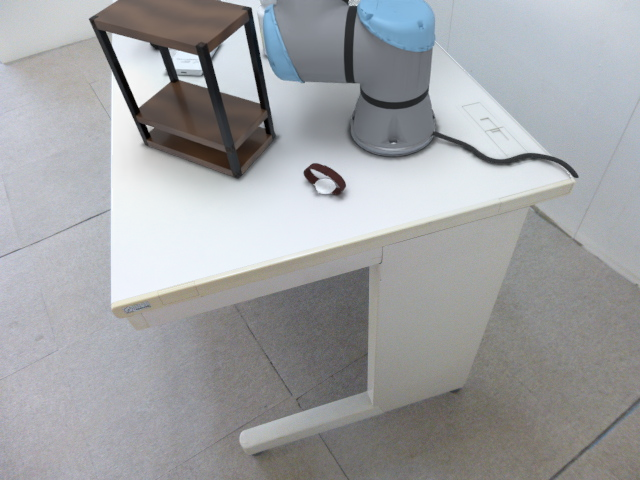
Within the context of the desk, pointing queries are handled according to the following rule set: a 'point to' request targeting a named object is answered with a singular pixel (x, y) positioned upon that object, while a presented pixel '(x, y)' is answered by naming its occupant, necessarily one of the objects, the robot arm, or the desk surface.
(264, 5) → the supplement bottle
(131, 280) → the desk surface
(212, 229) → the desk surface
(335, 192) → the watch
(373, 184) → the desk surface
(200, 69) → the hard drive
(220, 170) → the rack
